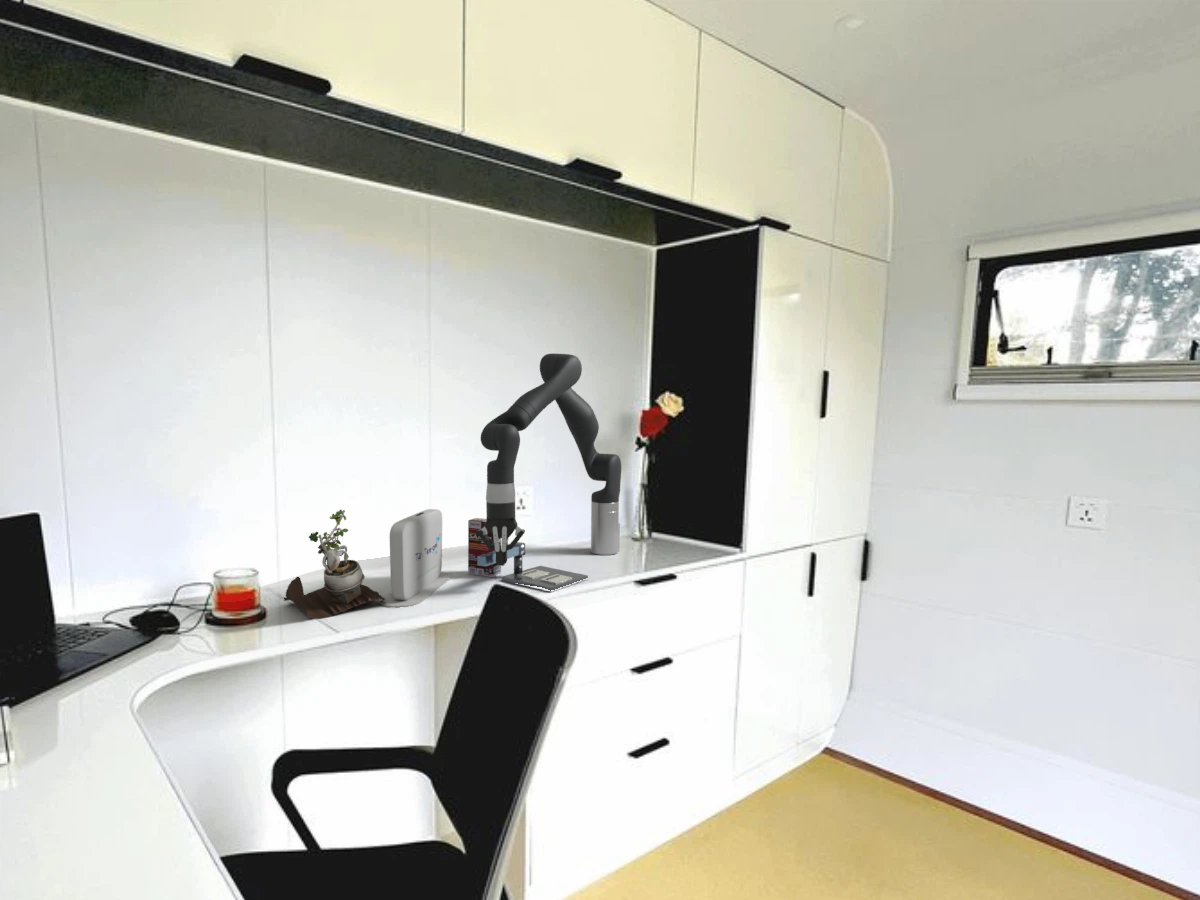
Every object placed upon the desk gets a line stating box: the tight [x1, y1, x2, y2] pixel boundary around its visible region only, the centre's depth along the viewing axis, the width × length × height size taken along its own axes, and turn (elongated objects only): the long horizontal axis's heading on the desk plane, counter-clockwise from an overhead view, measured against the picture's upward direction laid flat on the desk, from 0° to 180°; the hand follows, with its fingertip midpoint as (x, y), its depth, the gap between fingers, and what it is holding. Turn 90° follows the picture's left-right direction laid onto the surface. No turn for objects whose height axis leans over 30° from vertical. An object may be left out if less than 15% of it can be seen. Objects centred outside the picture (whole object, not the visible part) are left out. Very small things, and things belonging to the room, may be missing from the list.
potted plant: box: [283, 509, 387, 620], centre depth 151 cm, size 20×19×25 cm
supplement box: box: [467, 517, 502, 578], centre depth 183 cm, size 9×5×16 cm, turn 68°
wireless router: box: [380, 508, 452, 609], centre depth 166 cm, size 31×10×20 cm, turn 175°
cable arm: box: [477, 541, 526, 567], centre depth 174 cm, size 19×4×3 cm, turn 153°
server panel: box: [501, 555, 589, 591], centre depth 177 cm, size 16×19×6 cm
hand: (501, 564), depth 167 cm, fingers closed
